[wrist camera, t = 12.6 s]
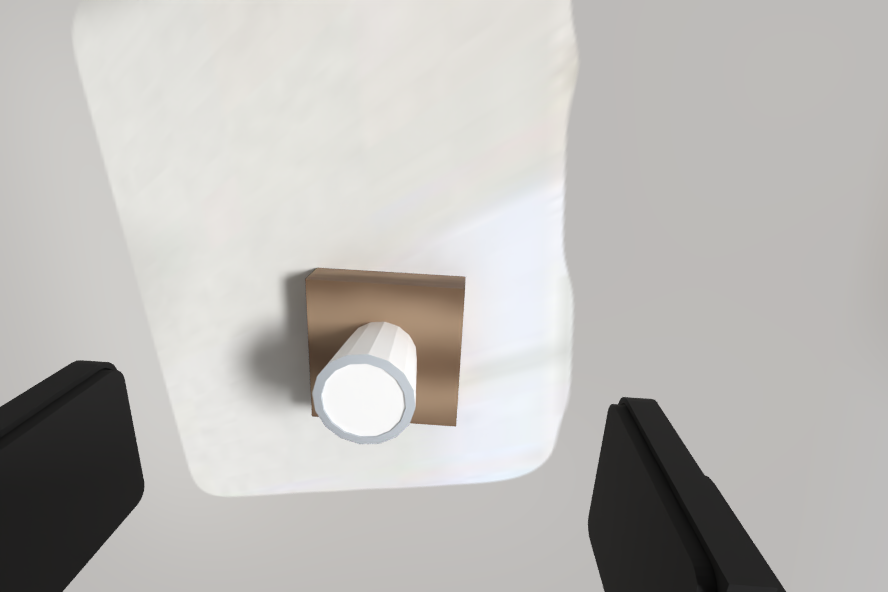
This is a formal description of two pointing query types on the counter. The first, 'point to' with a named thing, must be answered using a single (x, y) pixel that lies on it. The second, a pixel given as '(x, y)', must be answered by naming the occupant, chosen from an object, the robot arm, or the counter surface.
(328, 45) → the counter surface
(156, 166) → the counter surface
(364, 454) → the counter surface
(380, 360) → the white and grey cylinder
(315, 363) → the walnut base
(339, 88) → the counter surface
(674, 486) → the robot arm
